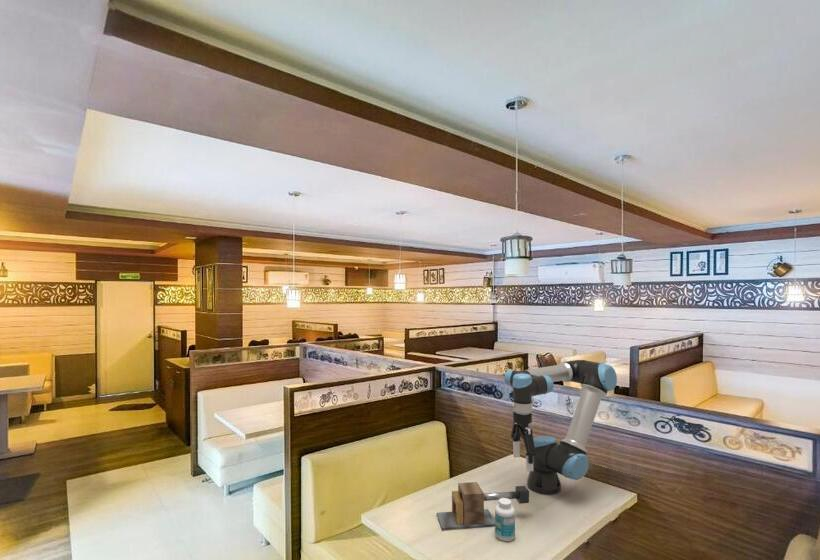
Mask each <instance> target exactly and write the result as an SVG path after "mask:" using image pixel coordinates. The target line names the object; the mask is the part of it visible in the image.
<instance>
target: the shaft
mask: <svg viewBox="0 0 820 560" xmlns="http://www.w3.org/2000/svg"><path fill="white" fill-rule="evenodd" d="M483 493H484V502H490V501H499V499H501V498H507V499H509V500H516V501H517V502H518V503H519V505H521V504H529V503H530V489H529V488H527V487H526V486H525V485H519V486H518V485H516V486H515V490H514V491H513V490H512V491H497V492H483Z"/></svg>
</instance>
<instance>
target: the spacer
mask: <svg viewBox="0 0 820 560" xmlns="http://www.w3.org/2000/svg"><path fill="white" fill-rule="evenodd" d="M451 512H452V515H453V517H454V519H455V522H456V524H457V525H463V501H462V499H461V496H460V494H459V492H458V490H451Z"/></svg>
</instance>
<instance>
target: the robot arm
mask: <svg viewBox="0 0 820 560" xmlns="http://www.w3.org/2000/svg"><path fill="white" fill-rule="evenodd" d="M503 379H504V380H503V381H504V383H505V384H506V385H507V386H508V387H511V388H512V404H511V406H512V409H513V413H512V420H513V424H512V428H511V434H510V438H511V439H512V441H513V442H512V445H513V446H512V449H513V450H512V452H513V453H512V454H513V455H512V456H513V458H521V439H522V440H523V444H524V447H525V451H526V453H525V455H524V456H525V471H526V472H529V474H528V477H527V479H526V480H527V484H526V485H527V487H528V489H529V490H530V491H533V492H535V493H537V494H542V495H556V494H559V493H560V492H561V490H562V484H561V481H560V478H559V475H561V476H563V477H564V478H567V479H571V480H573V481H578V480H581V479H582V478H584V476H586V474H587V472H588V470H589V467H590V463H589V462H590V460H589V458H588V456H587V453H588V452H587V449H586V445H587V442H588V438H589V435H590V432H591V431H592V430H591V429H592V427H593V425H594V421H595V418H596V415H597V412H598V409H599V407H600V405H601V400H602V398H604V397H605V396H607V395H608V394H607V393H608V392H610V391H613V390H615V388H616V385H617V382H618V378H617V373H616V370H615V368H614V367H613V366H612V365H611V364H605V363H604V362H597V361H591V360H585V359H575V360H569V361H562V362H559V363H558V364H554V365H549V366H542V367H535V368H531V369H525V370H524V369H522V370H516V369H509V370H507V371H506V372H505V374H504V377H503ZM561 381H562V382H564V383H568V382H571V383H577V384H580V387H581V389H582V391H581V393H580V396H579V399H578V401H577V402H578V403H577V405H576V407H575V410H574V413H573V415H572V419H571V421H570V424H569V428H568V430H567V433H566V436H565V438H563V439H561V440H560V441H559V444H558V441H557V438H556V437H554V436H551V435H539V436H535V437H534V435H533V429H532V428H530V427H529V425H530V424H531V423H533V413H532V412H533V397H535V396H540V395H546V394H549V393H551V392H552V391H553V389H554V383H555V382H561Z"/></svg>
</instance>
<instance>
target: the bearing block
mask: <svg viewBox="0 0 820 560" xmlns="http://www.w3.org/2000/svg"><path fill="white" fill-rule="evenodd" d="M457 485H458V486H457V489H458V490H457V491H458V492H459V494H460V496H461V499H462V501H463V525H457V524H456V522H455V519H454V517H453V515H452V511H443V512H436V517H437V520H438V523H439V526H440V529H441V531H453V530H455V531H456V530H467V529H468V530H469V529H480V528H495V517H494V516H493V515H492V514H491V512H490V510H489V509H488V508H485V501H484V493H485V492H484V491H483V490H482V488H481V486H480V485H479V483H478V482H477V481H473V482H469V481H468V482H458V484H457Z"/></svg>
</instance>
